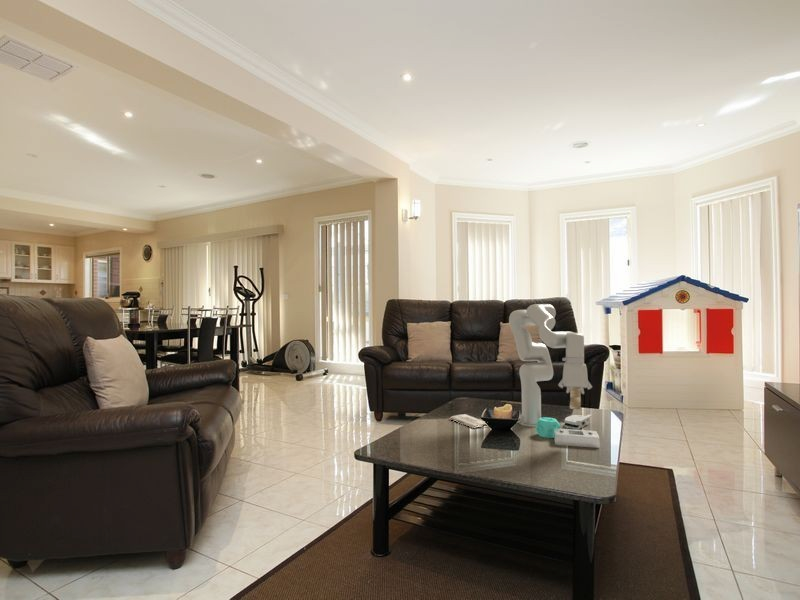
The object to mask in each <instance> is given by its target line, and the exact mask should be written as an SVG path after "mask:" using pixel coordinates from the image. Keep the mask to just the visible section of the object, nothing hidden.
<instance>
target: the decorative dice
mask: <svg viewBox="0 0 800 600" xmlns="http://www.w3.org/2000/svg"><path fill="white" fill-rule="evenodd" d="M554 428H558V429H561V425H560V423H559V421H558V420H557V419H556V418H553V417H544V416H543V417H541V418H540V419H539V420H538V421H537V423H536V427H535V429H536V430H535V431H536V433H537V435H538V436H539V437H541V438H546V439H554Z"/></svg>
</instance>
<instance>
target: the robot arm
mask: <svg viewBox="0 0 800 600" xmlns="http://www.w3.org/2000/svg"><path fill="white" fill-rule="evenodd" d="M556 315H557V312H556V308H555V307H554V306H553V305H552V304H550V303H535V304H530V305H529V306H528V307H527V308H526V309H517V310H513V311H512V312H511V313H510V314H509V317H508V323H509V328H510V331H511V333H512V335H513V337H514V342H515V346H516V350H517V355H518V357H519V360H521V361H523V362H528V363H524V364H521V366H520V367H519V371H518V372H519V378H520V385H521V414H519V415H520V420H518V424H519V425H521V426H524V427H529V428H536V423H537V421H538V420H539V419H540V418H542V395H541V394H542V391H541V387H540V385H538V383H537V382H544V381H550V380H552V379H553V376H554V367H553V364H552V363H553V362H552V359H551V356H550V352H549V349H548V347H549V348H552V349H562V348H563V349H565V357H562V359H561V360H562V362H564V363H563V370H562V378H561V380H560V381H559V383H558V384H557V385H558V387H559V388H561V389H562V390H563V391H564V392H565V393H566V400H567V401H568V402H567V403H570V387H581V404H583V402H584V399H585V398H584V395H585V393H586V392H588V391H589V390H591V389H592V388H593V385H592V384H591V382H590V381H589V379H588V377H589V376H588V368H587V364H586V363H585V336H584V334H583V333H579V332H574V331H567V330H566V331H560V330H559V331H552V330H553V329H554V327H555V326H556V319H555V317H556ZM525 326H537V327H538V332H537V333H538V337H539V339H540V340H541V342H533V340H532V334H531V333H530V332H529V330H528V329H527V328H526V327H525ZM536 361H537V362H536Z"/></svg>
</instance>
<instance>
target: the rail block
mask: <svg viewBox="0 0 800 600" xmlns="http://www.w3.org/2000/svg"><path fill="white" fill-rule="evenodd" d="M553 440H554V445H555V446H568V447H570V446H572V447H584V448H593V449H595V448H596V449H600V448H601V443H600V436H599V433H598V431H596V430H587V429H584V430H583V429H578V430H576V429H572V428H560V429H558V428H554V438H553Z"/></svg>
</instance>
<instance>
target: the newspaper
mask: <svg viewBox="0 0 800 600" xmlns="http://www.w3.org/2000/svg"><path fill="white" fill-rule="evenodd" d="M449 419H454V420H456V421H458V422H460V423H463V424H465V425H467V426H469V427H468V428H471V427H472V428H471V429H473V428H474V427H475V426H478V425H483V426H482V427H484V426H487V425H486V423H485V422H486V421H484V420H481V419H479V418H477V417H474V416H472V415H468V414H466V413H464V414H457V415H452V416H450V418H449Z"/></svg>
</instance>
